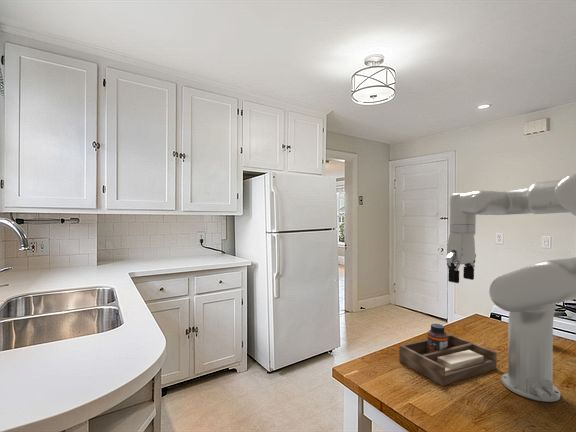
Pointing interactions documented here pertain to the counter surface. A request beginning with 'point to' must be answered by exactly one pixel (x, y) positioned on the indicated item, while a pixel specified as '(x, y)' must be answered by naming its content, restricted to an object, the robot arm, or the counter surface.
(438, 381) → the walnut divided tray
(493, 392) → the counter surface
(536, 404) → the counter surface
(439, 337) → the supplement bottle
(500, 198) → the robot arm
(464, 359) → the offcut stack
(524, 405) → the counter surface
